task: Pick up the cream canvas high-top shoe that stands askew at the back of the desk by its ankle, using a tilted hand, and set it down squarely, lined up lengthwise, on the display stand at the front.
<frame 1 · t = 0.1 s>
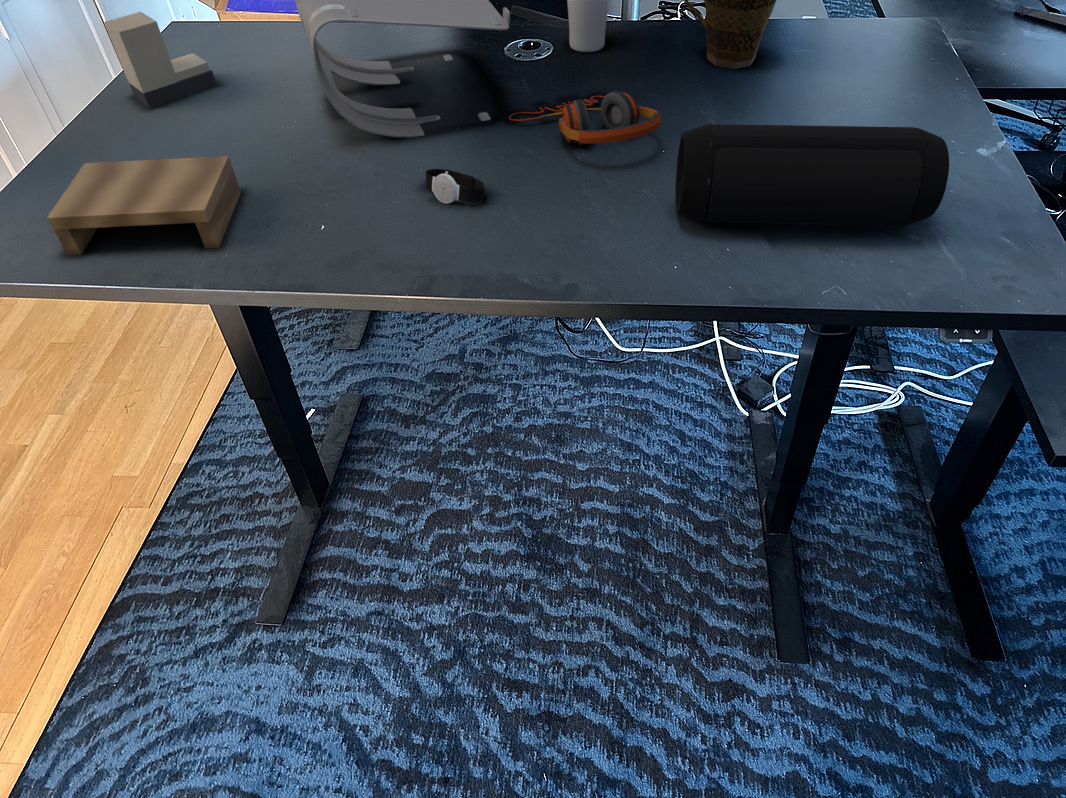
white tapered cylinder: (586, 48, 116), on the table
display stand: (159, 225, 86), on the table
ceramic cup: (720, 59, 113), on the table
headphones: (592, 135, 98), on the table
watch: (456, 197, 88), on the table
portable speaker: (793, 219, 84), on the table
laptop stand: (409, 98, 106), on the table
shoe: (177, 94, 109), on the table
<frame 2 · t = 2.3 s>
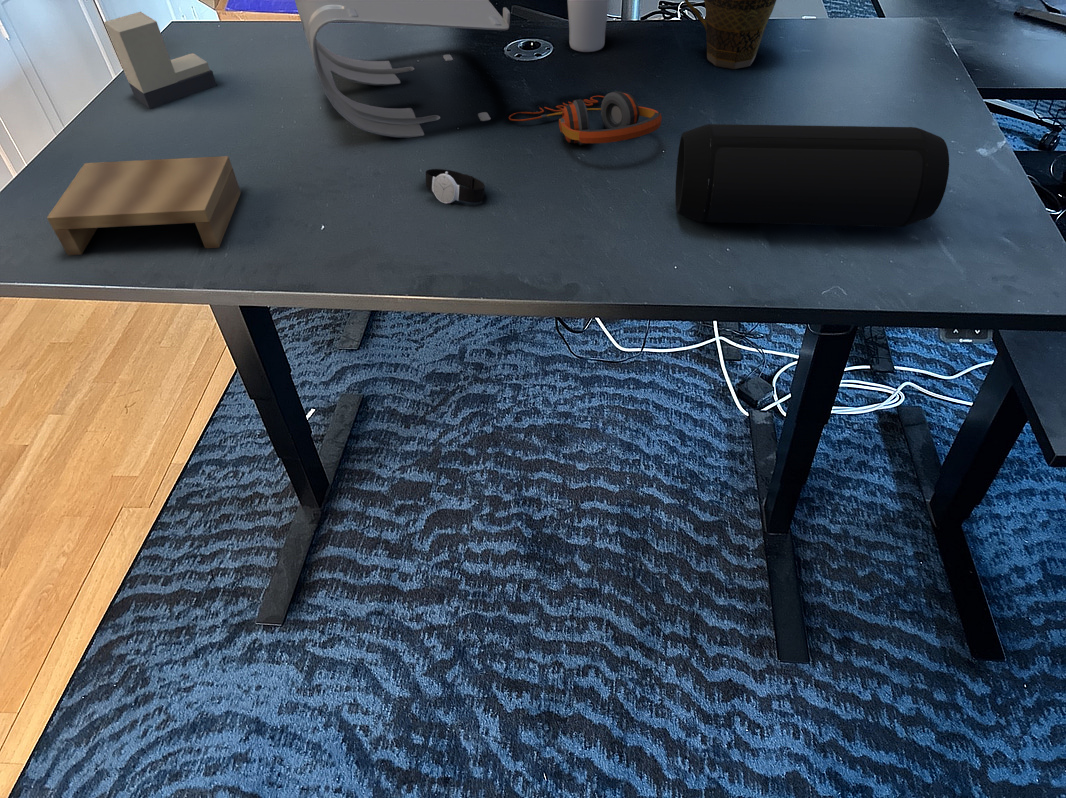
nothing on the table moved.
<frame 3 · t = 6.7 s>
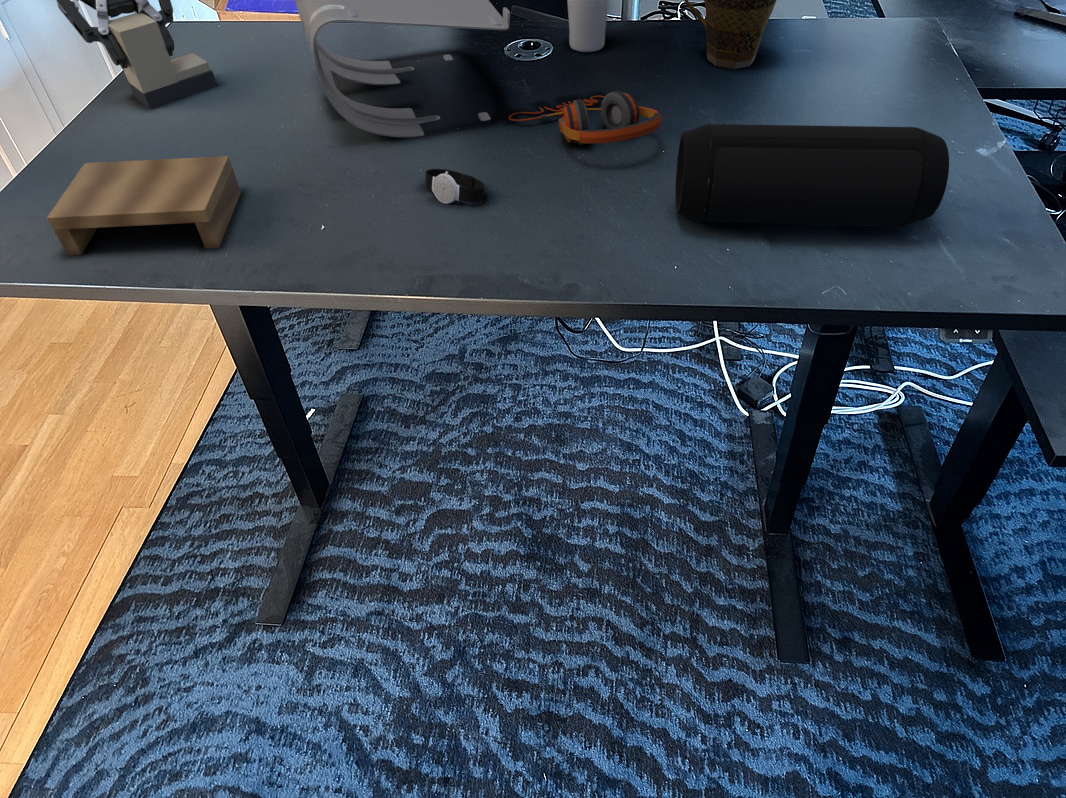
hand: (147, 58, 102), 6 cm above the table, tool tilted 45°, fingers closed on shoe, 5 cm apart
shoe: (177, 94, 109), on the table, touching gripper
everything else where it was.
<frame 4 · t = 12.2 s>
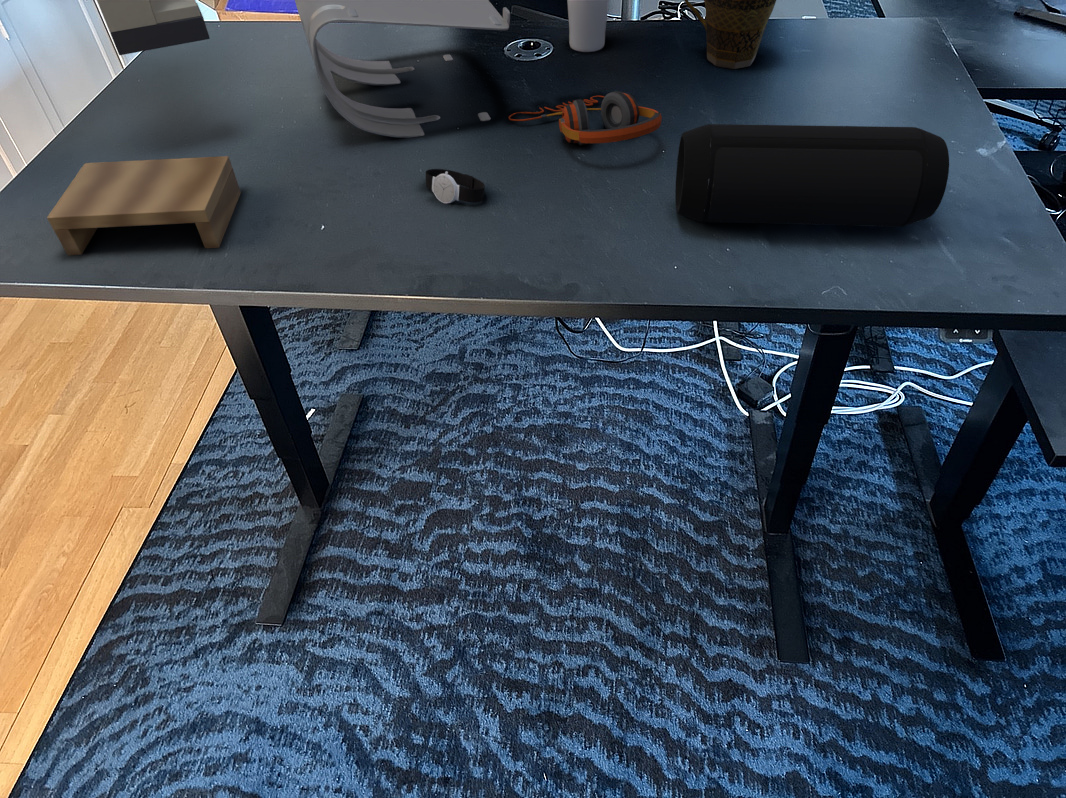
shoe: (163, 39, 90), point 13 cm above the table, touching gripper
everything else where it was.
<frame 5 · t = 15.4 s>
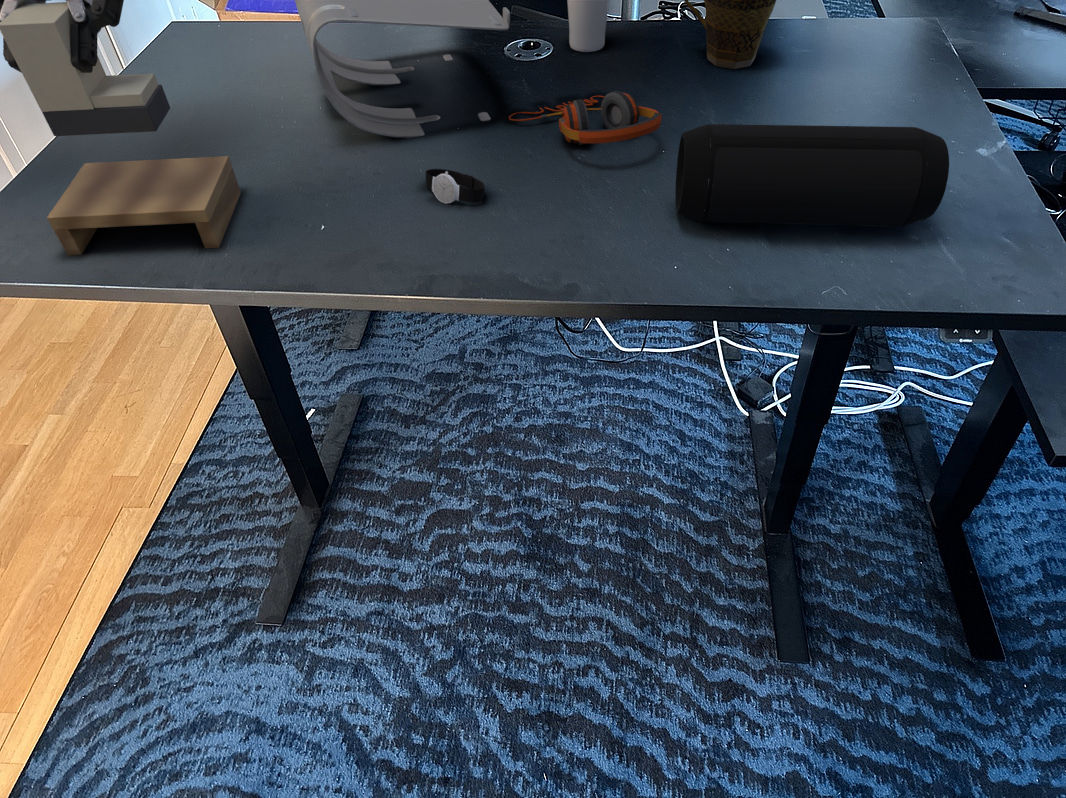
hand: (50, 68, 71), 18 cm above the table, tool tilted 45°, fingers closed on shoe, 5 cm apart
shoe: (113, 122, 77), point 12 cm above the table, touching gripper
everything else where it was.
when the fingers open (11 cm above the table, at t = 17.9 s): shoe stays where it is, resting on display stand.
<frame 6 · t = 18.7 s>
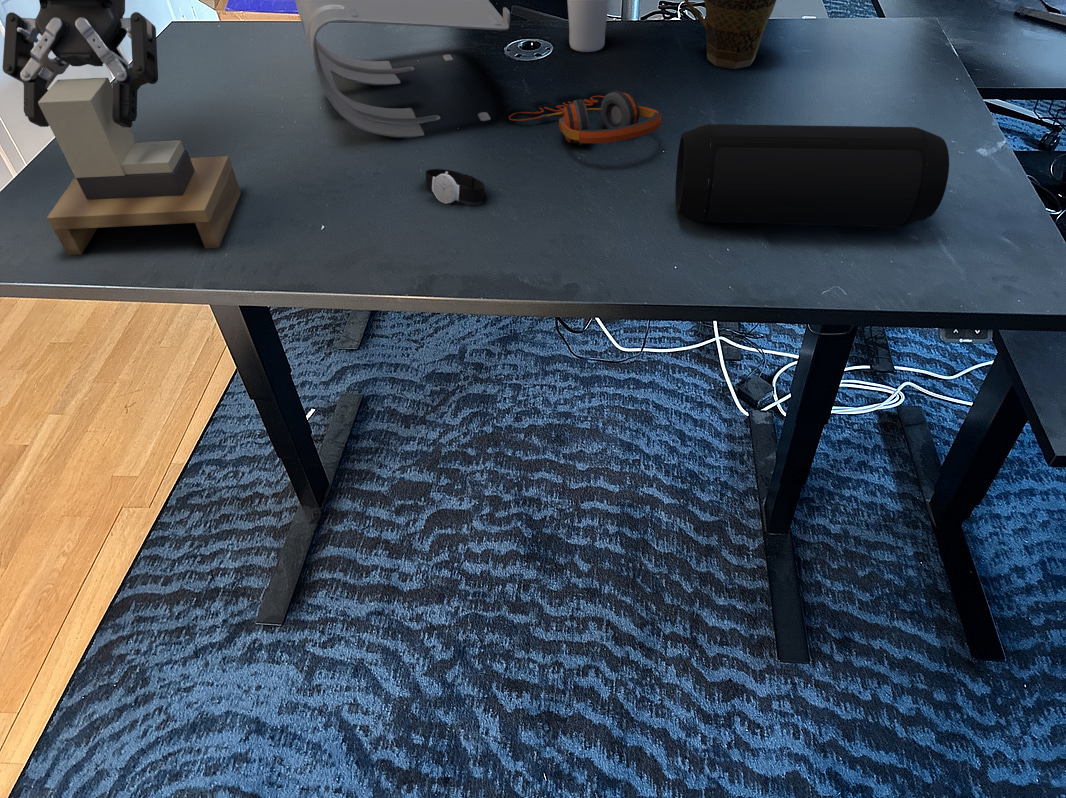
hand: (80, 124, 76), 13 cm above the table, tool tilted 45°, fingers open, 8 cm apart
shoe: (142, 184, 82), point 5 cm above the table, touching display stand
everything else where it was.
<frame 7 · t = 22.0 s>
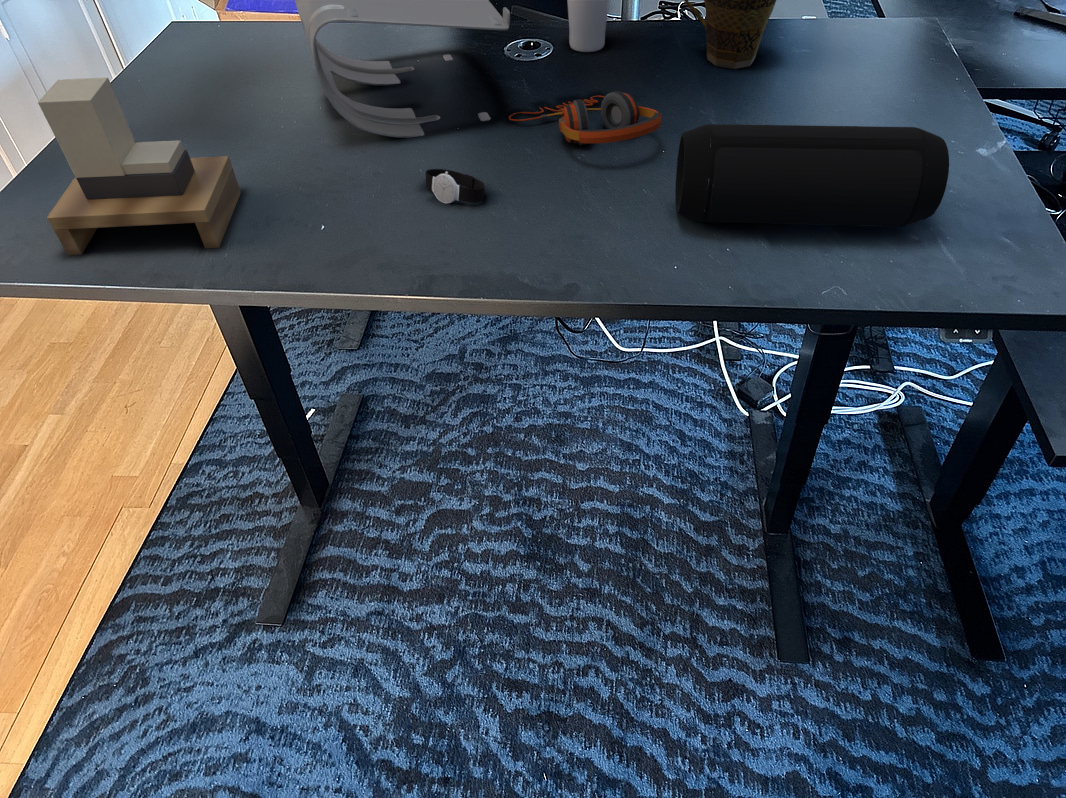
nothing on the table moved.
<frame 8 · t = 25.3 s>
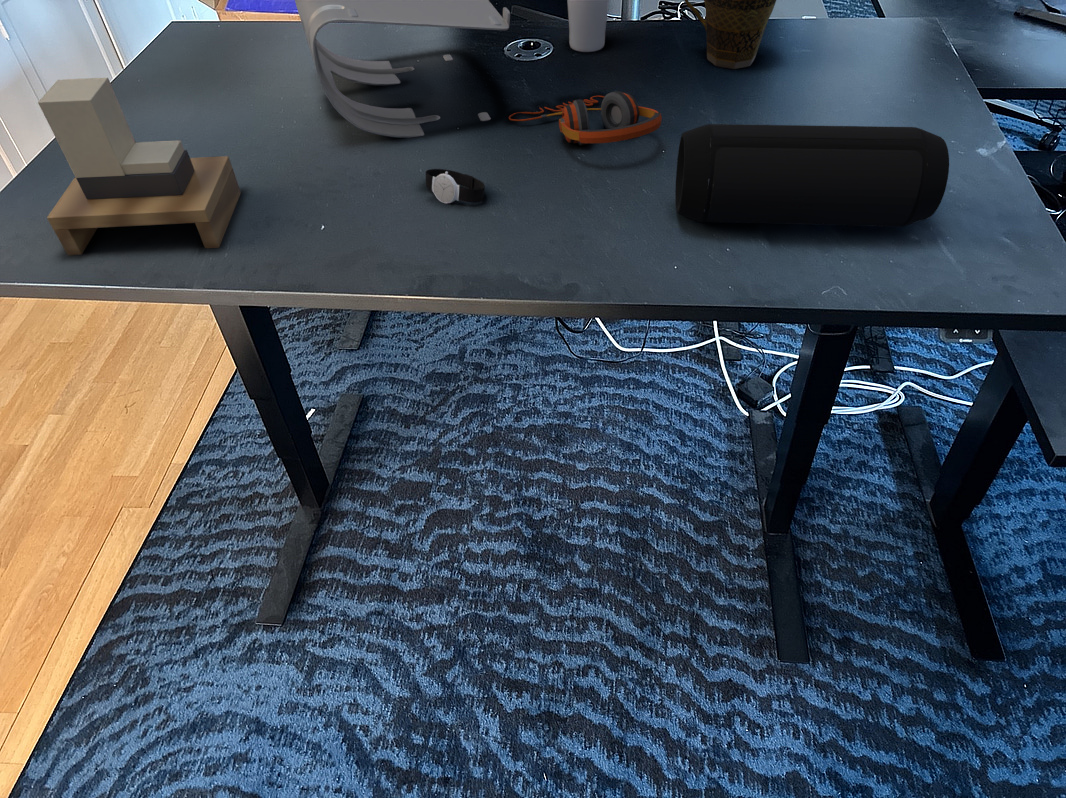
nothing on the table moved.
at the end: shoe 0.1 cm off-centre on the display stand, point 5.0 cm above the display stand's base; shoe tilted 0°; the gripper is holding nothing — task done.
